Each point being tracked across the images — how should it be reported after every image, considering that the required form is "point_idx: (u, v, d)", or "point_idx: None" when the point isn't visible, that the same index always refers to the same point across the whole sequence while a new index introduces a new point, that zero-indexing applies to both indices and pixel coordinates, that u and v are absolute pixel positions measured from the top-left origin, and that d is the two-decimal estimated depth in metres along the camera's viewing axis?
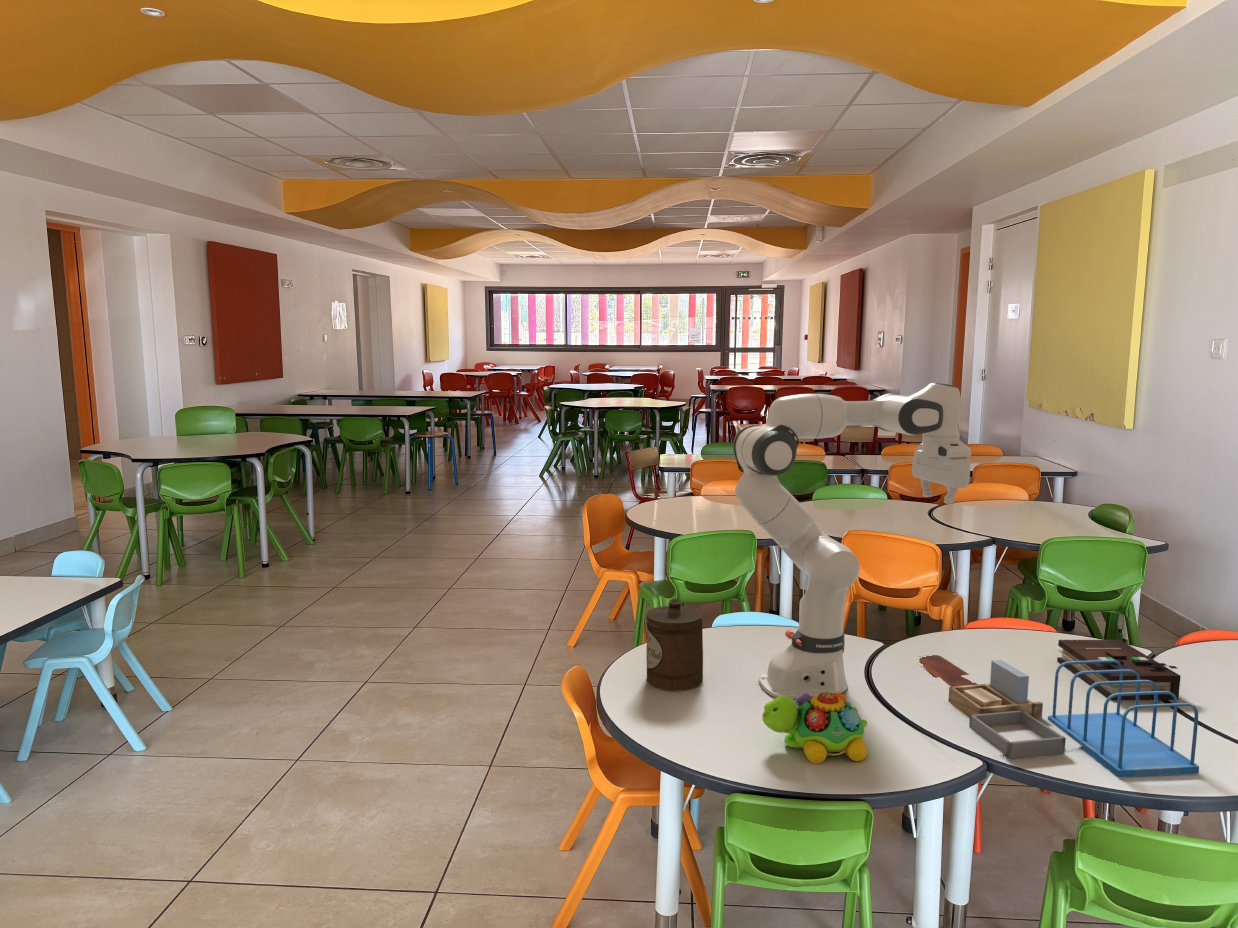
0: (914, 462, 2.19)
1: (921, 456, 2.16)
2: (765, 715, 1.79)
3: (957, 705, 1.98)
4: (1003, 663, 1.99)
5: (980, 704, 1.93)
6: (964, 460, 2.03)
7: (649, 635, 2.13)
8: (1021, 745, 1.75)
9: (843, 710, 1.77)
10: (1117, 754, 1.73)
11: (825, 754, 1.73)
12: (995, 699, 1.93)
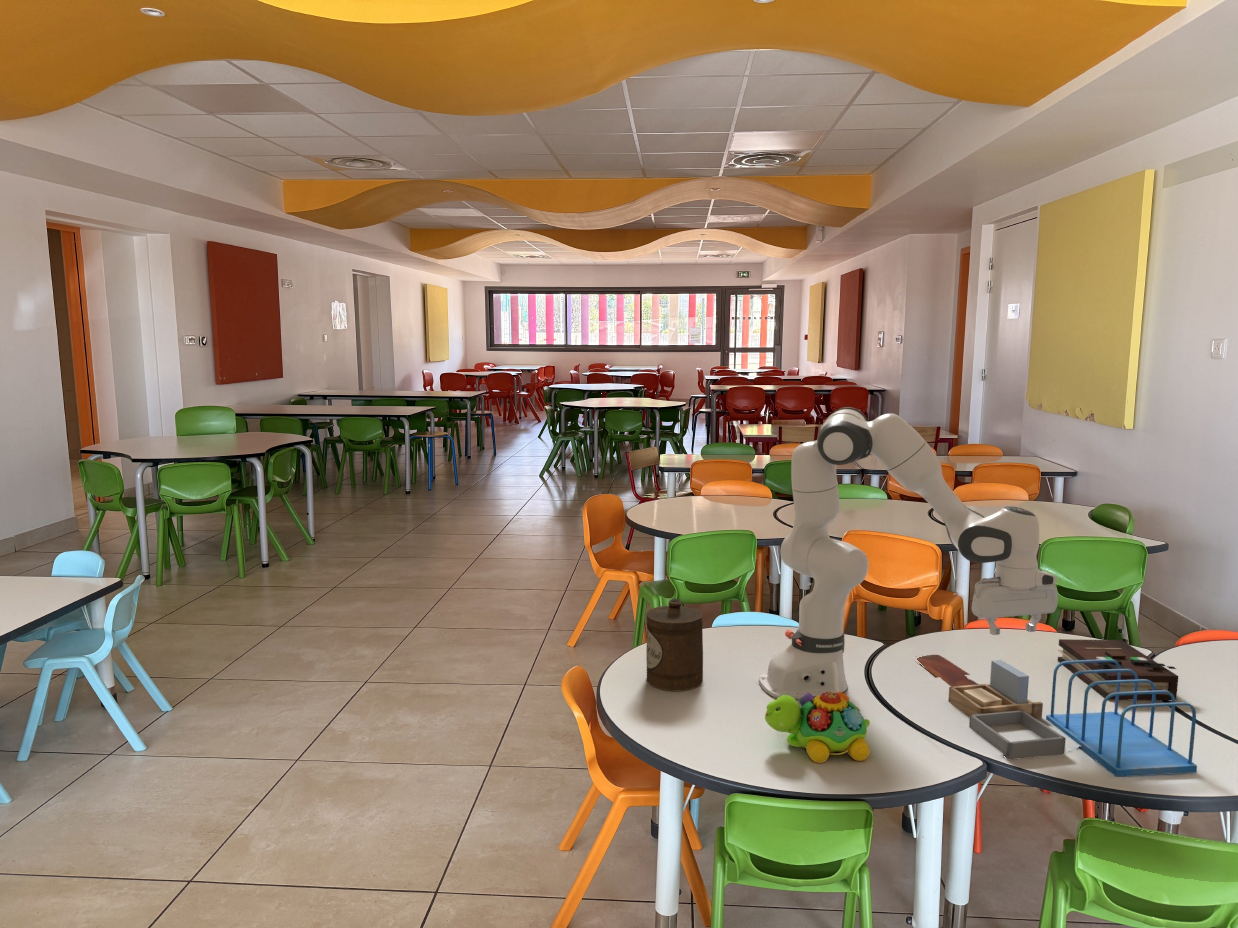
0: (986, 602, 1.91)
1: (999, 592, 1.91)
2: (768, 715, 1.79)
3: (957, 705, 1.98)
4: (1003, 663, 1.99)
5: (980, 704, 1.93)
6: None
7: (649, 635, 2.13)
8: (1021, 745, 1.75)
9: (846, 710, 1.77)
10: (1115, 754, 1.74)
11: (828, 754, 1.73)
12: (995, 699, 1.93)
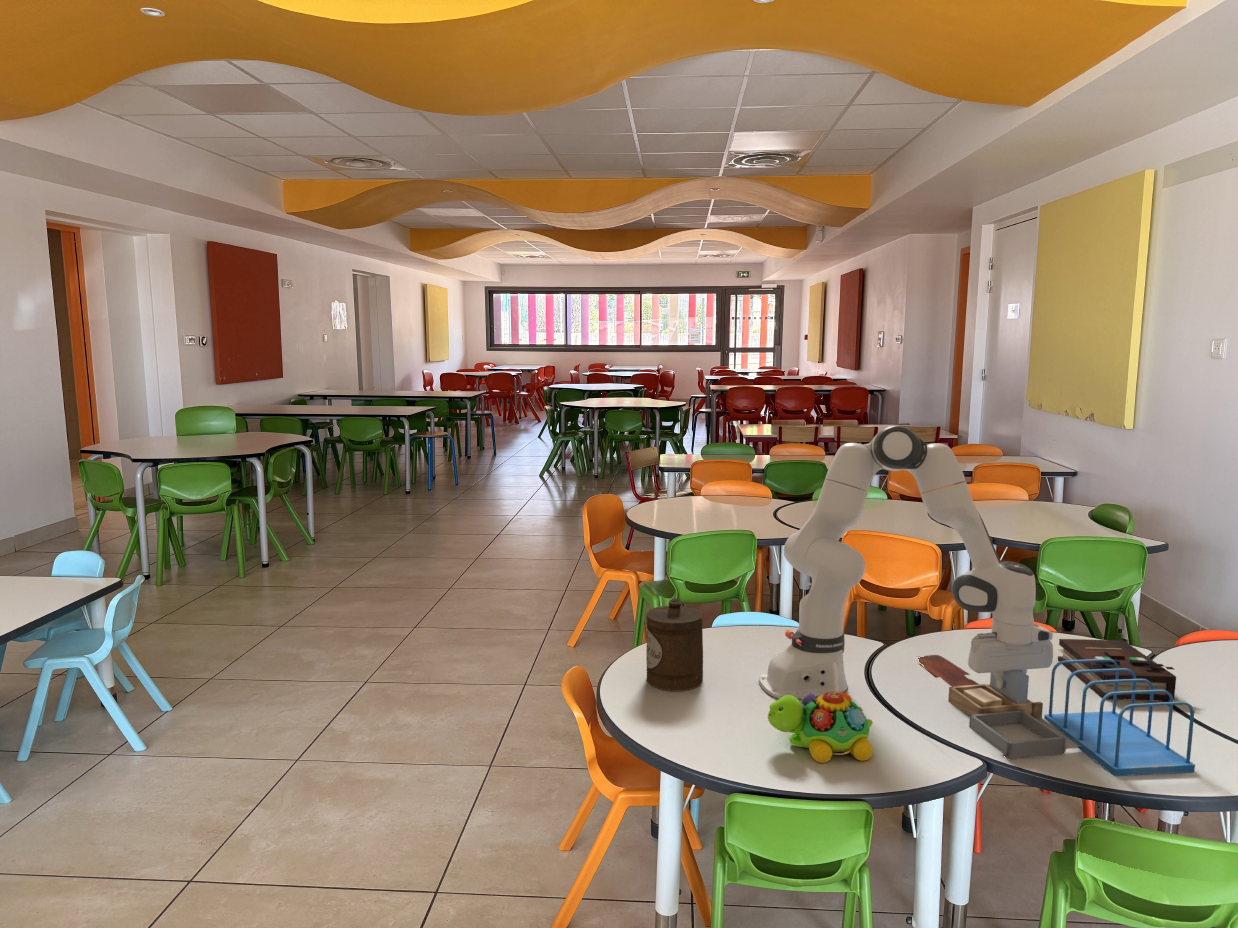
0: (982, 657, 1.93)
1: (995, 648, 1.93)
2: (770, 715, 1.79)
3: (957, 705, 1.98)
4: None
5: (980, 704, 1.93)
6: None
7: (649, 635, 2.13)
8: (1021, 745, 1.75)
9: (848, 710, 1.77)
10: (1113, 753, 1.74)
11: (830, 754, 1.73)
12: (995, 699, 1.93)
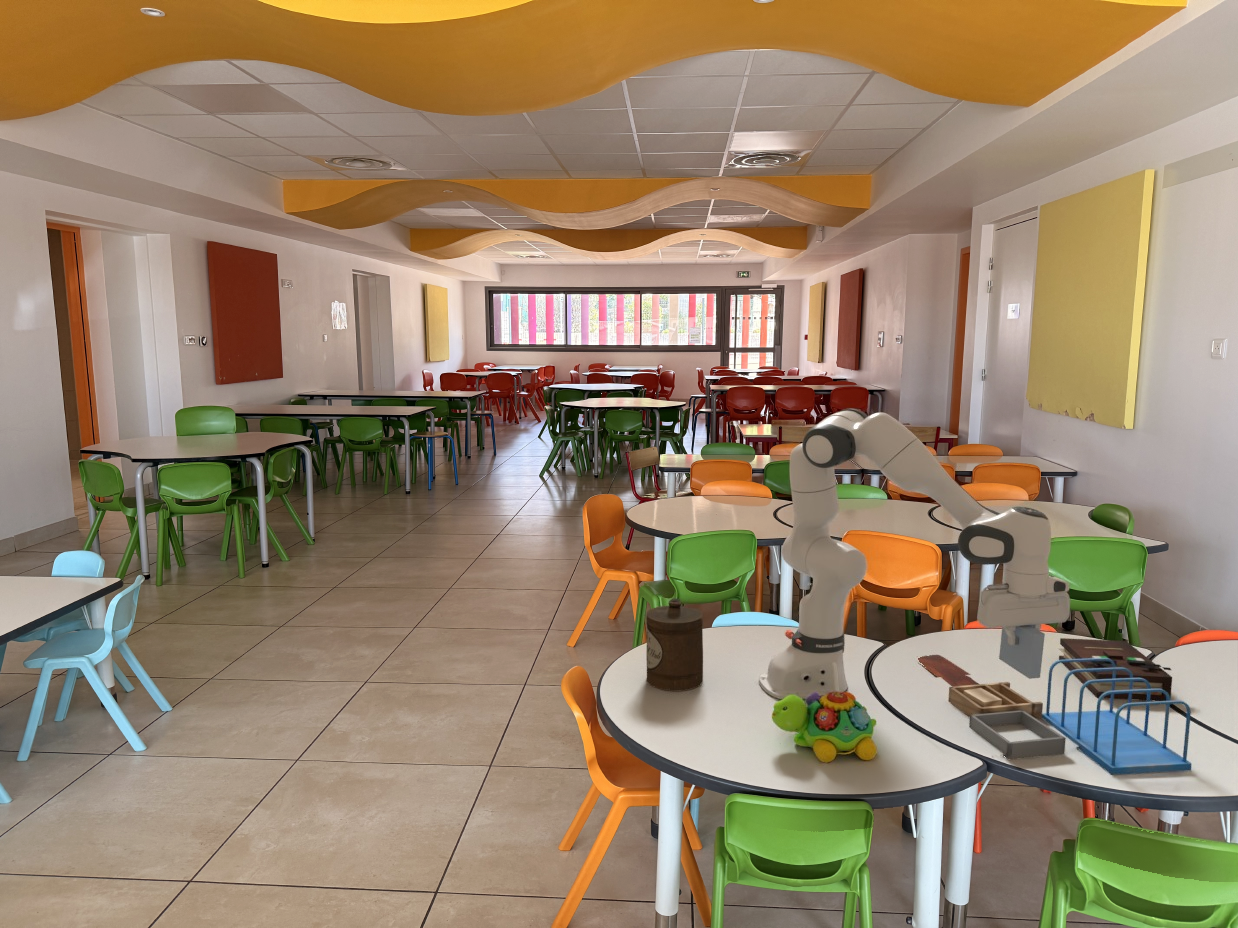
0: (993, 610, 1.76)
1: (1007, 600, 1.76)
2: (775, 714, 1.80)
3: (957, 705, 1.98)
4: None
5: (980, 704, 1.93)
6: None
7: (649, 635, 2.13)
8: (1021, 745, 1.75)
9: (852, 709, 1.77)
10: (1110, 752, 1.74)
11: (835, 753, 1.74)
12: (995, 699, 1.93)
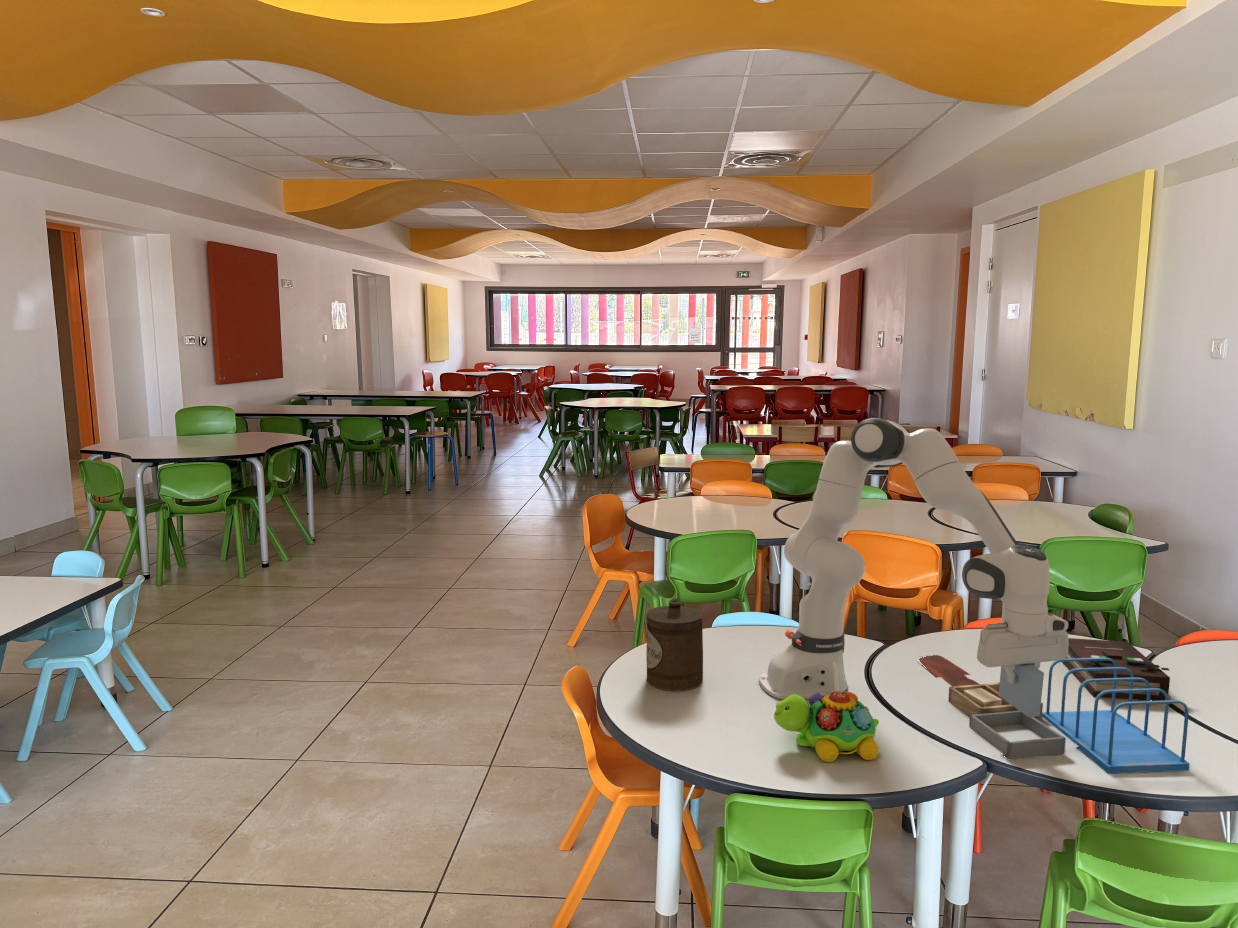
0: (992, 650, 1.77)
1: (1006, 639, 1.77)
2: (777, 714, 1.80)
3: (957, 705, 1.98)
4: None
5: (980, 704, 1.93)
6: None
7: (649, 635, 2.13)
8: (1021, 745, 1.75)
9: (855, 709, 1.77)
10: (1107, 751, 1.75)
11: (837, 753, 1.74)
12: (995, 699, 1.93)
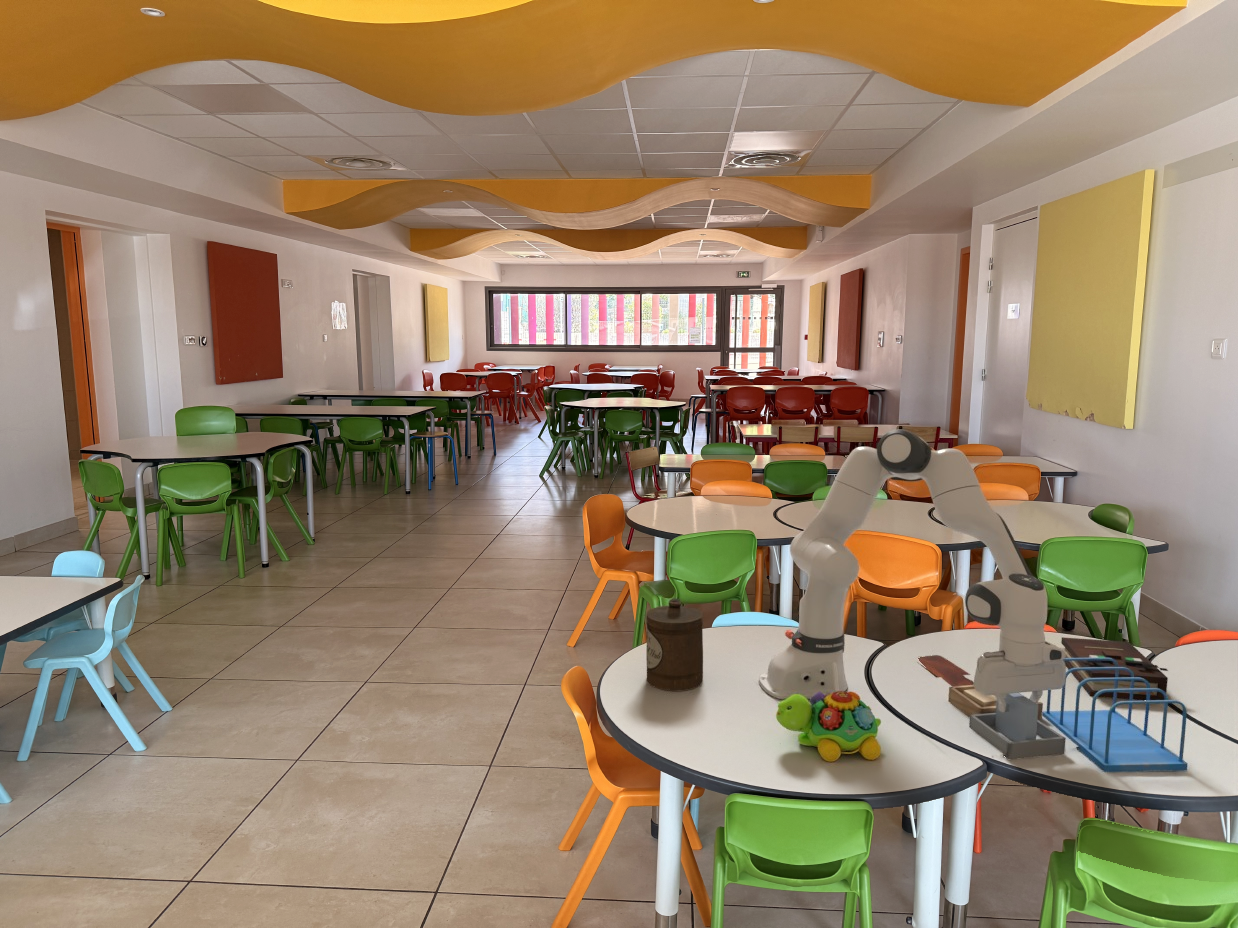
0: (989, 678, 1.77)
1: (1003, 668, 1.78)
2: (779, 713, 1.80)
3: (957, 705, 1.98)
4: None
5: (980, 704, 1.93)
6: None
7: (649, 635, 2.13)
8: (1021, 745, 1.75)
9: (857, 709, 1.77)
10: None
11: (839, 752, 1.74)
12: (995, 699, 1.93)
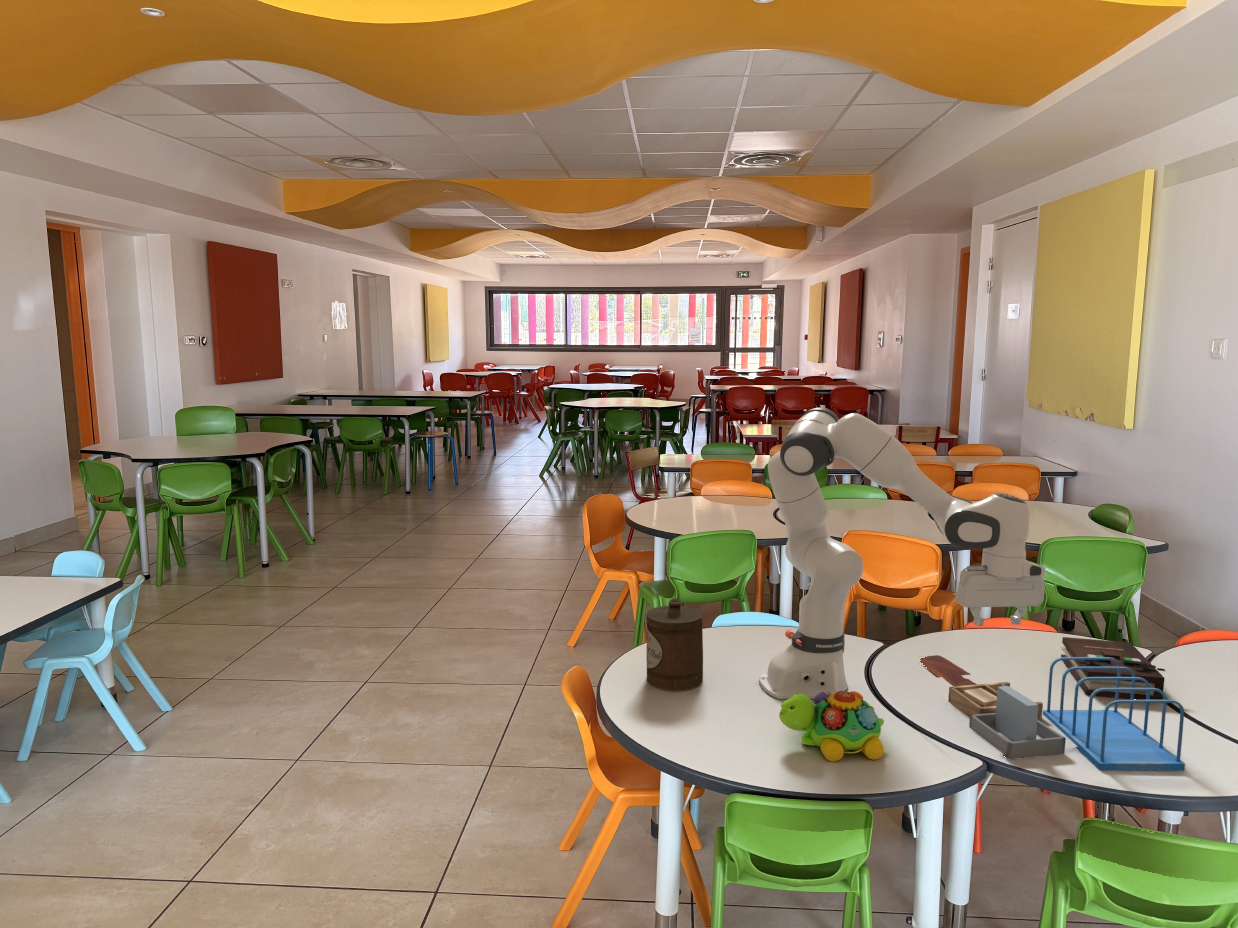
0: (971, 590, 1.84)
1: (984, 581, 1.84)
2: (782, 713, 1.80)
3: (957, 705, 1.98)
4: (1010, 689, 1.85)
5: (980, 704, 1.93)
6: None
7: (649, 635, 2.13)
8: (1021, 745, 1.75)
9: (860, 708, 1.77)
10: None
11: (842, 752, 1.74)
12: (995, 699, 1.93)
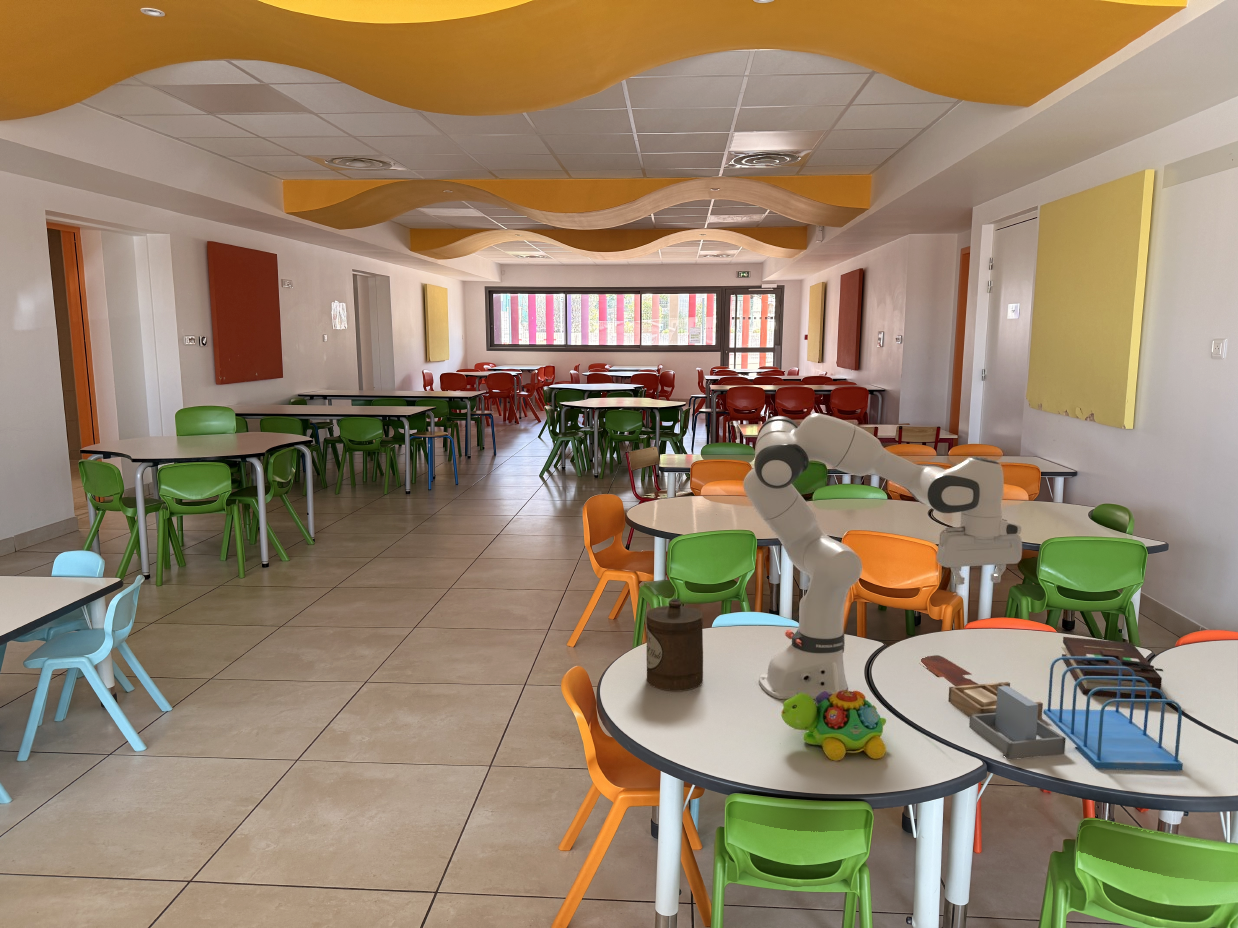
0: (950, 551, 1.91)
1: (963, 541, 1.91)
2: (784, 712, 1.80)
3: (957, 705, 1.98)
4: (1010, 689, 1.85)
5: (980, 704, 1.93)
6: None
7: (649, 635, 2.13)
8: (1021, 745, 1.75)
9: (862, 708, 1.78)
10: None
11: (844, 751, 1.74)
12: (995, 699, 1.93)
